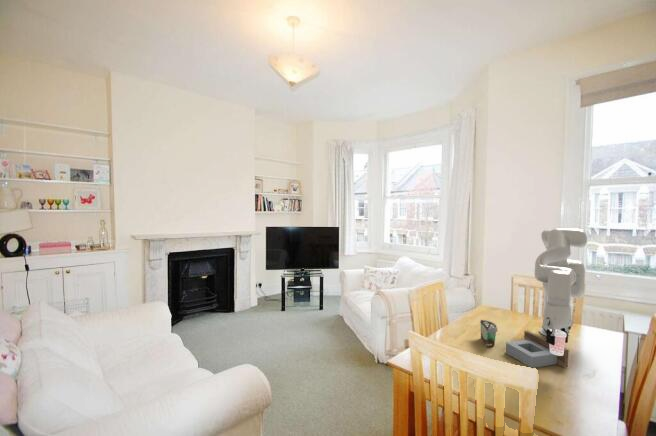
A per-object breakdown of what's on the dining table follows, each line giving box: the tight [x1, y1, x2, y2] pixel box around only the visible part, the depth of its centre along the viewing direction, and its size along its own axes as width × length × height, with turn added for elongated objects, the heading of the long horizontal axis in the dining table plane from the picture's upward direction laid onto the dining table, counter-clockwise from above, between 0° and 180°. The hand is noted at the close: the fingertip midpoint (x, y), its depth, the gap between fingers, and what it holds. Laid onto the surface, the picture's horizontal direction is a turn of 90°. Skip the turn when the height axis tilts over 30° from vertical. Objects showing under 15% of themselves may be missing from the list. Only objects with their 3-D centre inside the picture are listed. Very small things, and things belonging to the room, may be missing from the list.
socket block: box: [505, 339, 558, 369], centre depth 136 cm, size 14×14×5 cm
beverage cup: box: [549, 329, 568, 356], centre depth 122 cm, size 6×6×14 cm
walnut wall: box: [523, 330, 570, 369], centre depth 138 cm, size 2×20×8 cm, turn 14°
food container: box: [480, 319, 498, 348], centre depth 151 cm, size 12×6×10 cm, turn 168°
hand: (556, 342), depth 122 cm, fingers closed on beverage cup, 6 cm apart
